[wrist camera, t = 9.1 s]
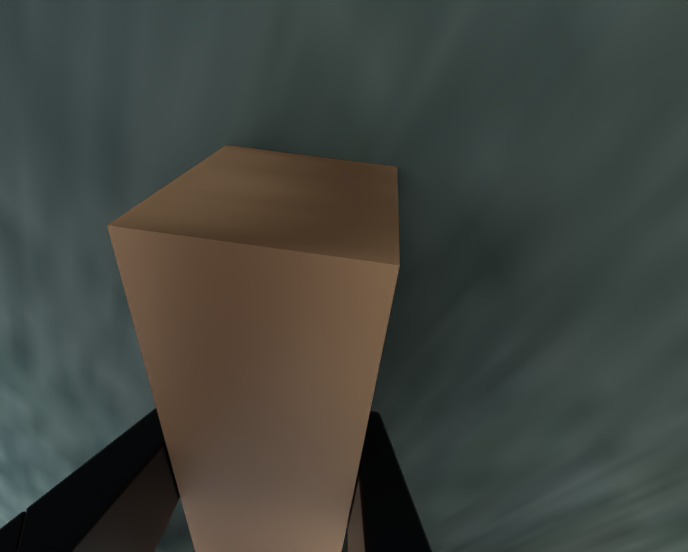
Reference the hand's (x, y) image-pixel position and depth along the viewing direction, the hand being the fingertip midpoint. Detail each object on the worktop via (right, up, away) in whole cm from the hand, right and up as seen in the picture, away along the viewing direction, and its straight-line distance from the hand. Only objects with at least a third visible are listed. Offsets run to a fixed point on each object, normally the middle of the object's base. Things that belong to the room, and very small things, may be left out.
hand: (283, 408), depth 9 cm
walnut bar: (0, -4, +6) cm, 7 cm away
